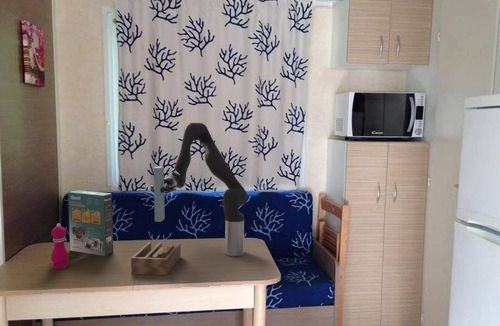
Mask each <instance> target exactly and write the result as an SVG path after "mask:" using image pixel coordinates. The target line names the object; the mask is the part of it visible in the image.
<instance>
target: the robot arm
mask: <svg viewBox="0 0 500 326" xmlns="http://www.w3.org/2000/svg"><path fill="white" fill-rule="evenodd" d="M194 141H199V142H200V143H201V145H202V146H203V148H204V161H205V164H206V166H207V168H208V170H209V171H210V172H211V174H212V175H213V176H215V177H216V178H217V179H218V180H219V181H221V182H222V183H223V184H225V186H226V187H227V189H226V190H225V191H224V193H223V200H222V201H223V214H224V217H225V218H224V219H225V221H224V222H225V225H224V226H225V232H224V235H225V236H224V237H225V238H224V239H225V244H224V245H225V247H224V248H225V250H224V251H225V255H226V256H228V257H239V256H240V257H241V256H244V254H245V215H244V214H243V213H242V212H240V211H239V207H240V206H244V205H246V204H247V201H248V194H247V191H246V189H245V188H244V187H243V185H242V184H241V183H240V181H239V180H238V178H237V177H236V176H235V174H234V172H233V171H232V169H231V168H230V167H229V164H228V163H227V161H226V159H225V158H224V156H223V154H222V153H221V151H220V150H219V148H218V146H217V145H216V142H215V141H214V140H213V137H212V135H211V132H210V131H209V129H208V126H206V125H205V124H204V123H203V122H190V123H188V124H187V125H186V126H185V128H184V132H183V137H182V142H181V147H180V151H179V155H178V157H177V160H176V162H175V165H174V171H170V172H169V173H168V174H167V176H166V177H164V187H162V188H161V189H160V193H163V192H164V194H169V193H171V192H174V191H177V189H182V188H184V186H185V185H186V180H187V171H188V169H189V166H190V164H191V161H192V153H191V147H192V145H193V142H194ZM175 171H176V172H175ZM149 186H150V187H149V189H150V191H151V192H152V193H153V194H154V184H152V183H151V184H150V185H149Z"/></svg>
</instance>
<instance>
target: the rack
mask: <svg viewBox="0 0 500 326" xmlns="http://www.w3.org/2000/svg"><path fill="white" fill-rule="evenodd" d="M181 246H182V244H181V242H177V243H176V245H174V248H173V249H172V251H171V252H170V253H169V254H168V255H167V256H166V258H152V256H153V255H154V254H155V253H156V252H157V251H158V250H159V249H160V248H163V242H161V241H159V242H158V243H157V244H156V245H155V246H154V247H153V248H152V242H151V241H148V242H147V243H146V244H145V245H144V246H142V247H141V248H140V249H139V250H137V252H136V253H135V254H134V255H132V256H131V257H130V263H131V264H130V270H131V274H132V275H133V274H135V275H136V274H137V275H138V274H139V275H154V276H155V275H156V276H157V275H159V276H160V275H161V276H167V275H168V274H169V273H170V272H171V271H172V269H173V268H174V267H175V265H176V264H177V262H178V261H179V260H180V259H181V255H182V253H181V252H182V251H181V250H182V249H181V248H182V247H181Z"/></svg>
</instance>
